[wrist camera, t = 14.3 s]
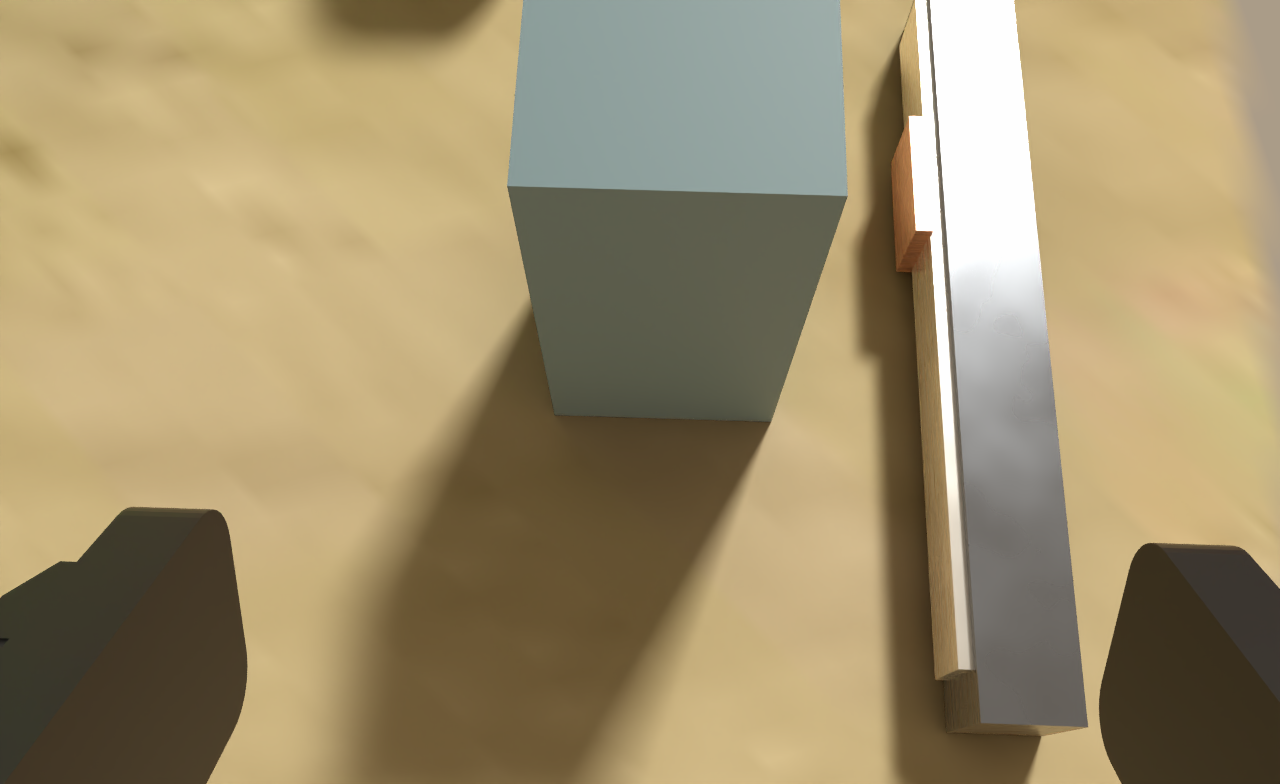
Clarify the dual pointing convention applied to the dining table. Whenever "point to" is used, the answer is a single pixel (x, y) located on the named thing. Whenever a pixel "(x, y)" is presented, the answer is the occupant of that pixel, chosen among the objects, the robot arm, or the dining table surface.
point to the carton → (675, 197)
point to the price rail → (984, 378)
